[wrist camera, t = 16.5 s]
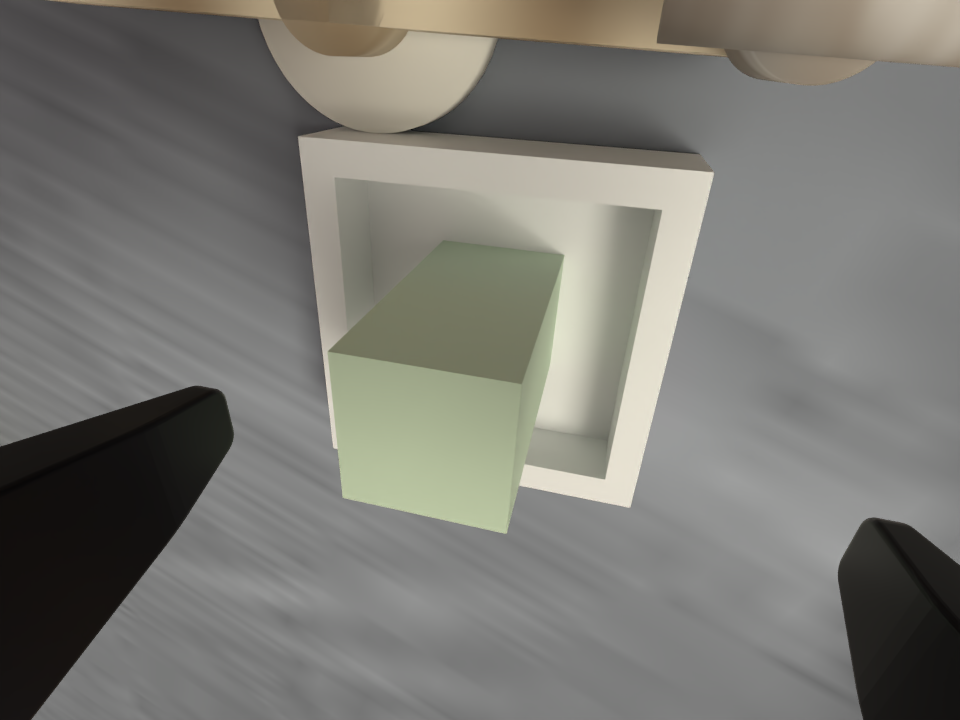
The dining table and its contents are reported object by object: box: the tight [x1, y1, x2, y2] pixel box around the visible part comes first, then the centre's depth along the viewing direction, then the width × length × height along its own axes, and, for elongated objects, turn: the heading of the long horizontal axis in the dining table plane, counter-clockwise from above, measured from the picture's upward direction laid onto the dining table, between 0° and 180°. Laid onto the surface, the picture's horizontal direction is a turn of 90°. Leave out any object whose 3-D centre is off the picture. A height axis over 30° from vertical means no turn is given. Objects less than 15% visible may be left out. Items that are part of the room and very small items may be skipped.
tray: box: [298, 126, 714, 508], centre depth 18 cm, size 11×11×3 cm
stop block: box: [327, 240, 565, 534], centre depth 15 cm, size 4×4×8 cm
